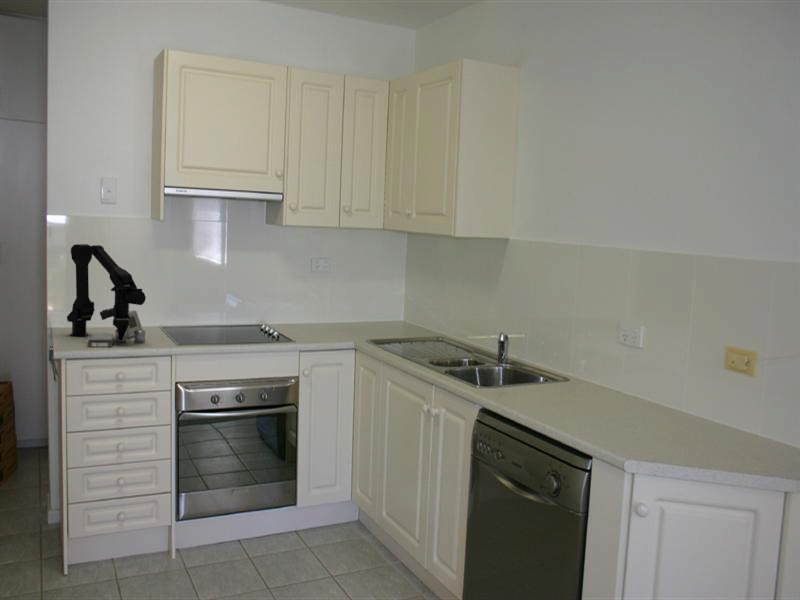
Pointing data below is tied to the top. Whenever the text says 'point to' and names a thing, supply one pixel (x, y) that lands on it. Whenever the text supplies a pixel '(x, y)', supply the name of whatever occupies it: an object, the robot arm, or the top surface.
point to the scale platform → (100, 336)
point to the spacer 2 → (139, 336)
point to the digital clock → (133, 324)
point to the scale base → (100, 343)
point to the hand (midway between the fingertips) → (120, 338)
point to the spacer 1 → (118, 337)
